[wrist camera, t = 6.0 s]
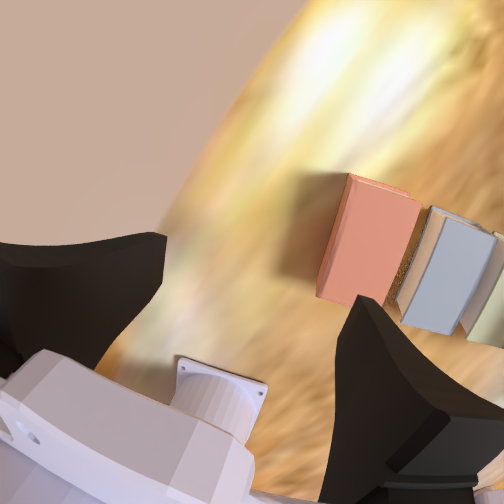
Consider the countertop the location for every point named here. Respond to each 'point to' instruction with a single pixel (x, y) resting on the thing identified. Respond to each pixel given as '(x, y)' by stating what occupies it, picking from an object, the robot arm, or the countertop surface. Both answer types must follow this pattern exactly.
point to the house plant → (484, 490)
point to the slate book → (444, 272)
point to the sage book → (488, 303)
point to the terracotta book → (366, 241)
